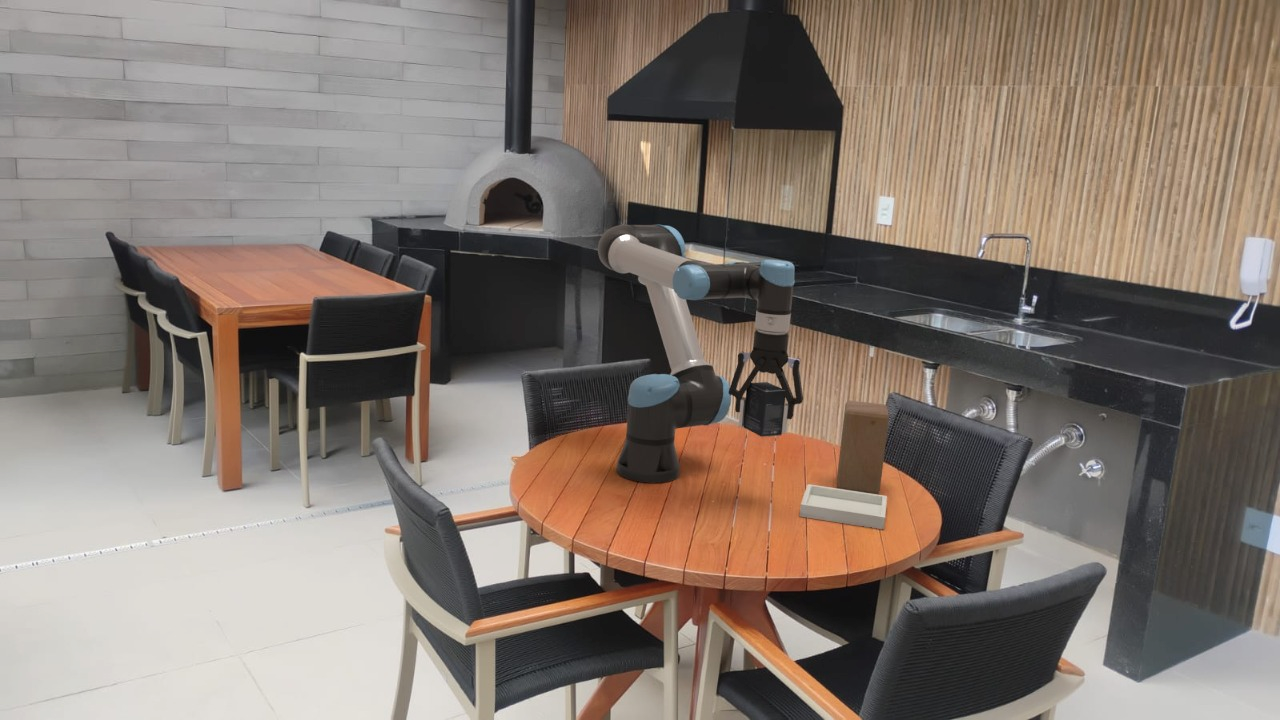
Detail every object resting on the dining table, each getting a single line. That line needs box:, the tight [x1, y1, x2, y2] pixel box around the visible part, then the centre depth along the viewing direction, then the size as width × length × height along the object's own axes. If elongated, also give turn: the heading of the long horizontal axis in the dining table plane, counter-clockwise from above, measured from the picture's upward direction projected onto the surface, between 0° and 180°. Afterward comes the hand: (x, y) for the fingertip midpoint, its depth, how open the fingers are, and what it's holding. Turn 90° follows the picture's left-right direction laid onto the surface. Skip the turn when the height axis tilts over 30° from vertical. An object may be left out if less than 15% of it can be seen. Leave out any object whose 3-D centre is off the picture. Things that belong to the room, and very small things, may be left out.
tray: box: [799, 483, 888, 531], centre depth 220 cm, size 18×14×3 cm
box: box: [742, 381, 786, 438], centre depth 220 cm, size 8×6×11 cm
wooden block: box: [836, 400, 890, 495], centre depth 235 cm, size 10×10×20 cm
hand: (762, 429), depth 221 cm, fingers closed on box, 9 cm apart
